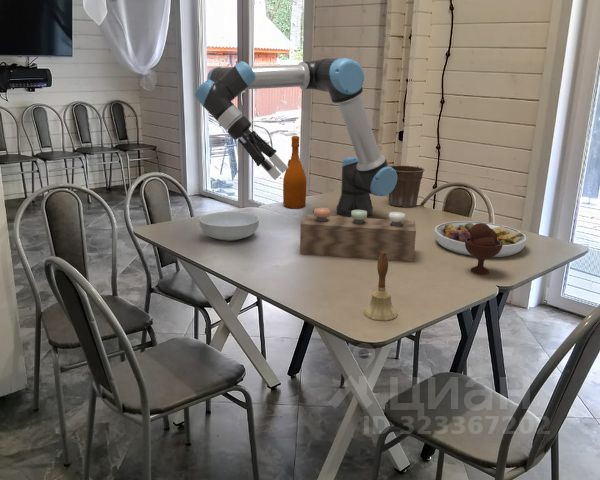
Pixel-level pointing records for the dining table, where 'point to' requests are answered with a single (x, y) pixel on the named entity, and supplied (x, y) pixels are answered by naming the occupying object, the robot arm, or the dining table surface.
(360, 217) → the sage button
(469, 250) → the ice cream bowl
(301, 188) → the wine bottle
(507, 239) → the bowl
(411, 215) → the dining table surface
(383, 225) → the console
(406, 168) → the plant pot
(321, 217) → the terracotta button
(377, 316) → the hand bell
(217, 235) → the serving bowl
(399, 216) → the cream button
